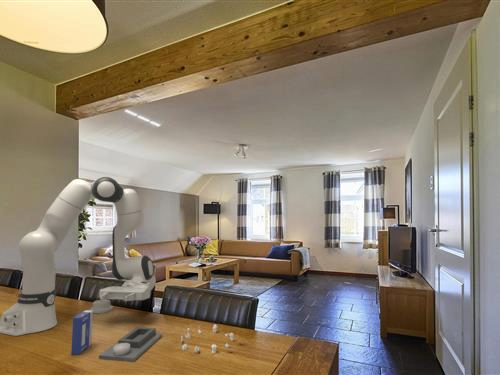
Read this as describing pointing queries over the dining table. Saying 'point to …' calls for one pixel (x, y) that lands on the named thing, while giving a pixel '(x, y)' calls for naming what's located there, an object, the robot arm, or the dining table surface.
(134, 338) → the housing
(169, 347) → the dining table surface
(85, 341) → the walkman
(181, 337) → the game piece set
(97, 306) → the mechanical component
